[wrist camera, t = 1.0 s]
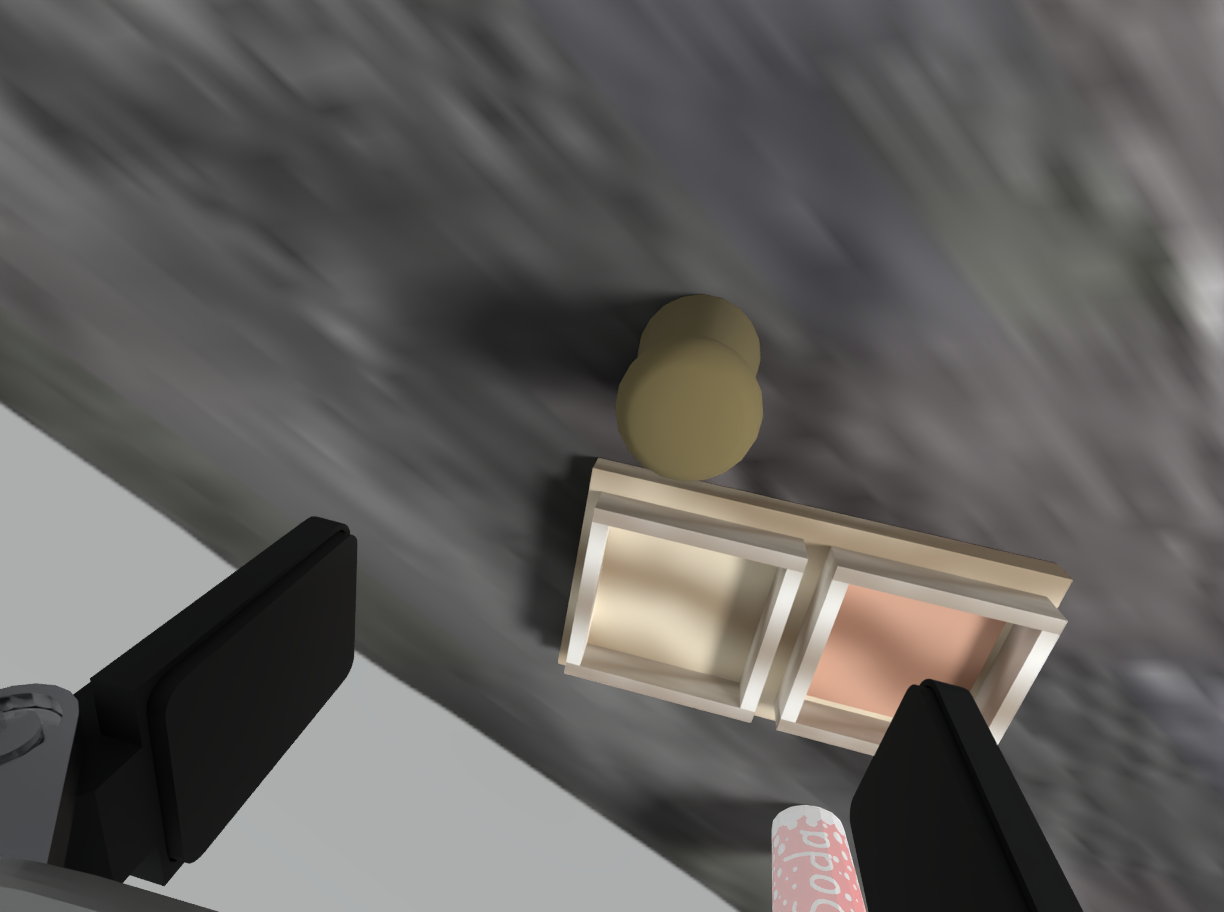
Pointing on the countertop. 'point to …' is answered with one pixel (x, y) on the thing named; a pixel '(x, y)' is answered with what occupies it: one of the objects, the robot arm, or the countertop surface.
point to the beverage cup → (812, 863)
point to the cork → (692, 390)
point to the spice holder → (796, 609)
